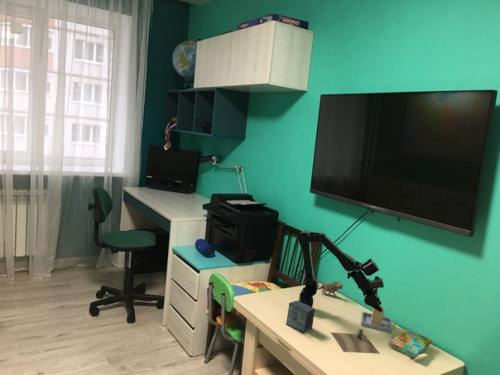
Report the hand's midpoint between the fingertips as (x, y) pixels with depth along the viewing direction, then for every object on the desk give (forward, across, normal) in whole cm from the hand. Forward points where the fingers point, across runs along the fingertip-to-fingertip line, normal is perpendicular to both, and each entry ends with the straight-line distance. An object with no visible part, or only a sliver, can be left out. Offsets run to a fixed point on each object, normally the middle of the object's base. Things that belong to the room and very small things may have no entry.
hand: (381, 308), depth 197 cm
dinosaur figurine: (-12, +27, +25) cm, 39 cm away
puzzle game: (+16, -16, -3) cm, 23 cm away
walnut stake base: (-1, -27, +14) cm, 30 cm away
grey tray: (+6, 0, +7) cm, 9 cm away
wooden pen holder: (+5, 0, +6) cm, 8 cm away
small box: (-18, -24, +31) cm, 43 cm away
